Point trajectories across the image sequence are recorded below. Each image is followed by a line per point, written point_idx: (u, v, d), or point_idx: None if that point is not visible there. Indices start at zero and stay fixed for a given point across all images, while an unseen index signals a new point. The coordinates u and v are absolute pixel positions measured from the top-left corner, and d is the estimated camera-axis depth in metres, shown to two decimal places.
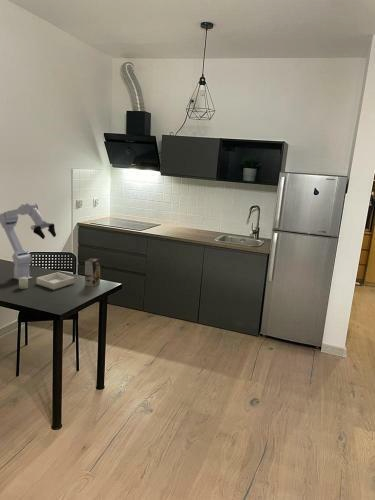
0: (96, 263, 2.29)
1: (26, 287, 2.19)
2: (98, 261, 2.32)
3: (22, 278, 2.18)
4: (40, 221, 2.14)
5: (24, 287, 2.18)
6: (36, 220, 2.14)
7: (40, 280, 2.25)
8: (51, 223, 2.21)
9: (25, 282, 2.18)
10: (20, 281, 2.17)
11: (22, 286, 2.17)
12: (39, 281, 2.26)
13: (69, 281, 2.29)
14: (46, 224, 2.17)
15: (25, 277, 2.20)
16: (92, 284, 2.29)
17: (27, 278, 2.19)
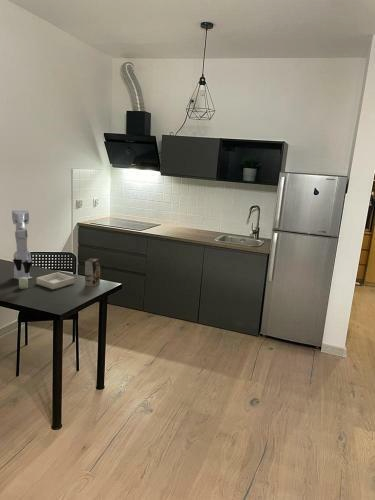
0: (96, 263, 2.29)
1: (26, 287, 2.19)
2: (98, 261, 2.32)
3: (22, 278, 2.18)
4: (17, 255, 2.14)
5: (24, 287, 2.18)
6: None
7: (40, 280, 2.25)
8: (26, 260, 2.12)
9: (25, 282, 2.18)
10: (20, 281, 2.17)
11: (22, 286, 2.17)
12: (39, 281, 2.26)
13: (69, 281, 2.29)
14: None
15: (25, 277, 2.20)
16: (92, 284, 2.29)
17: (27, 278, 2.19)
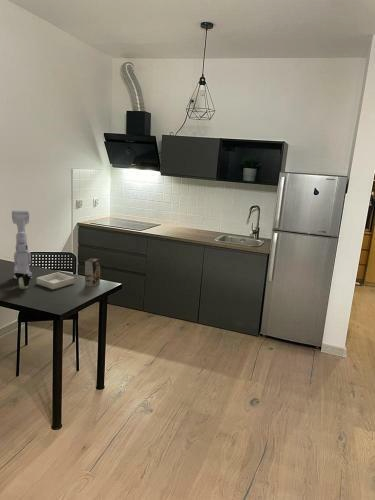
0: (96, 263, 2.29)
1: (26, 287, 2.19)
2: (98, 261, 2.32)
3: (22, 278, 2.18)
4: (17, 269, 2.16)
5: (24, 287, 2.18)
6: None
7: (40, 280, 2.25)
8: (27, 273, 2.14)
9: None
10: (20, 281, 2.17)
11: (22, 286, 2.17)
12: (39, 281, 2.26)
13: (69, 281, 2.29)
14: (23, 272, 2.16)
15: None
16: (92, 284, 2.29)
17: None
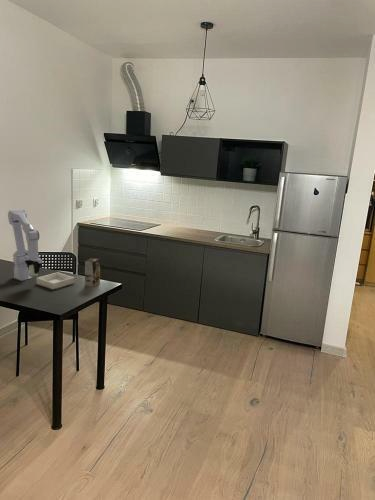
0: (96, 263, 2.29)
1: (36, 274, 2.20)
2: (98, 261, 2.32)
3: (32, 265, 2.20)
4: (28, 256, 2.18)
5: (34, 274, 2.19)
6: None
7: (40, 280, 2.25)
8: (37, 260, 2.15)
9: None
10: (30, 268, 2.18)
11: (32, 273, 2.19)
12: (39, 281, 2.26)
13: (69, 281, 2.29)
14: None
15: None
16: (92, 284, 2.29)
17: None
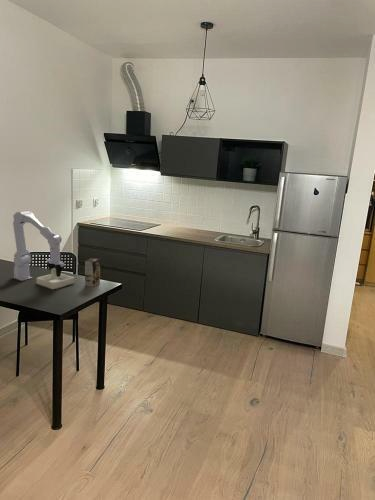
0: (96, 263, 2.29)
1: (58, 277, 2.28)
2: (98, 261, 2.32)
3: (54, 269, 2.27)
4: (50, 259, 2.25)
5: (56, 277, 2.27)
6: None
7: (40, 280, 2.25)
8: (59, 264, 2.23)
9: None
10: (52, 271, 2.26)
11: (54, 276, 2.26)
12: (39, 281, 2.26)
13: (69, 281, 2.29)
14: (55, 263, 2.25)
15: None
16: (92, 284, 2.29)
17: None
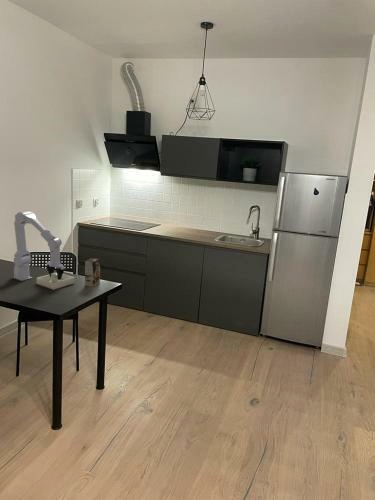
0: (96, 263, 2.29)
1: None
2: (98, 261, 2.32)
3: (54, 274, 2.28)
4: (50, 262, 2.26)
5: None
6: None
7: (40, 280, 2.25)
8: (60, 267, 2.23)
9: (57, 277, 2.27)
10: (52, 276, 2.27)
11: (54, 281, 2.27)
12: (39, 281, 2.26)
13: (69, 281, 2.29)
14: None
15: None
16: (92, 284, 2.29)
17: None
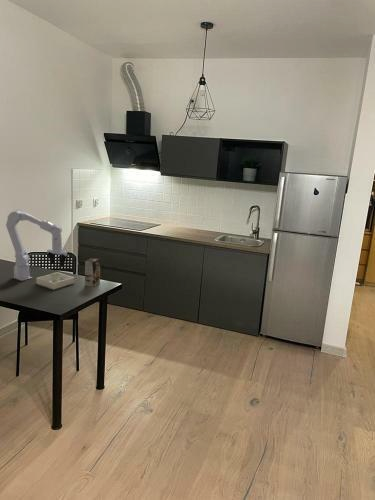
0: (96, 263, 2.29)
1: None
2: (98, 261, 2.32)
3: (54, 274, 2.28)
4: (52, 250, 2.33)
5: None
6: None
7: (40, 280, 2.25)
8: (63, 253, 2.32)
9: (57, 277, 2.27)
10: (52, 276, 2.27)
11: (54, 281, 2.27)
12: (39, 281, 2.26)
13: (69, 281, 2.29)
14: None
15: (57, 273, 2.30)
16: (92, 284, 2.29)
17: None
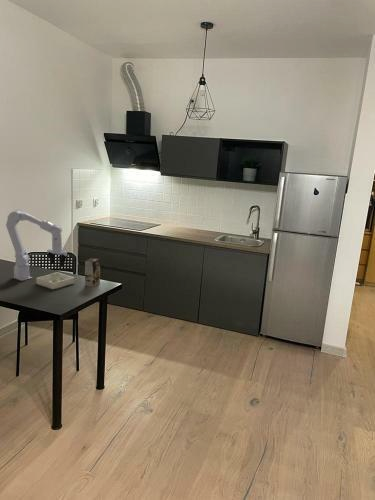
0: (96, 263, 2.29)
1: None
2: (98, 261, 2.32)
3: (54, 274, 2.28)
4: (52, 250, 2.33)
5: None
6: None
7: (40, 280, 2.25)
8: (63, 253, 2.32)
9: (57, 277, 2.27)
10: (52, 276, 2.27)
11: (54, 281, 2.27)
12: (39, 281, 2.26)
13: (69, 281, 2.29)
14: None
15: (57, 273, 2.30)
16: (92, 284, 2.29)
17: None
